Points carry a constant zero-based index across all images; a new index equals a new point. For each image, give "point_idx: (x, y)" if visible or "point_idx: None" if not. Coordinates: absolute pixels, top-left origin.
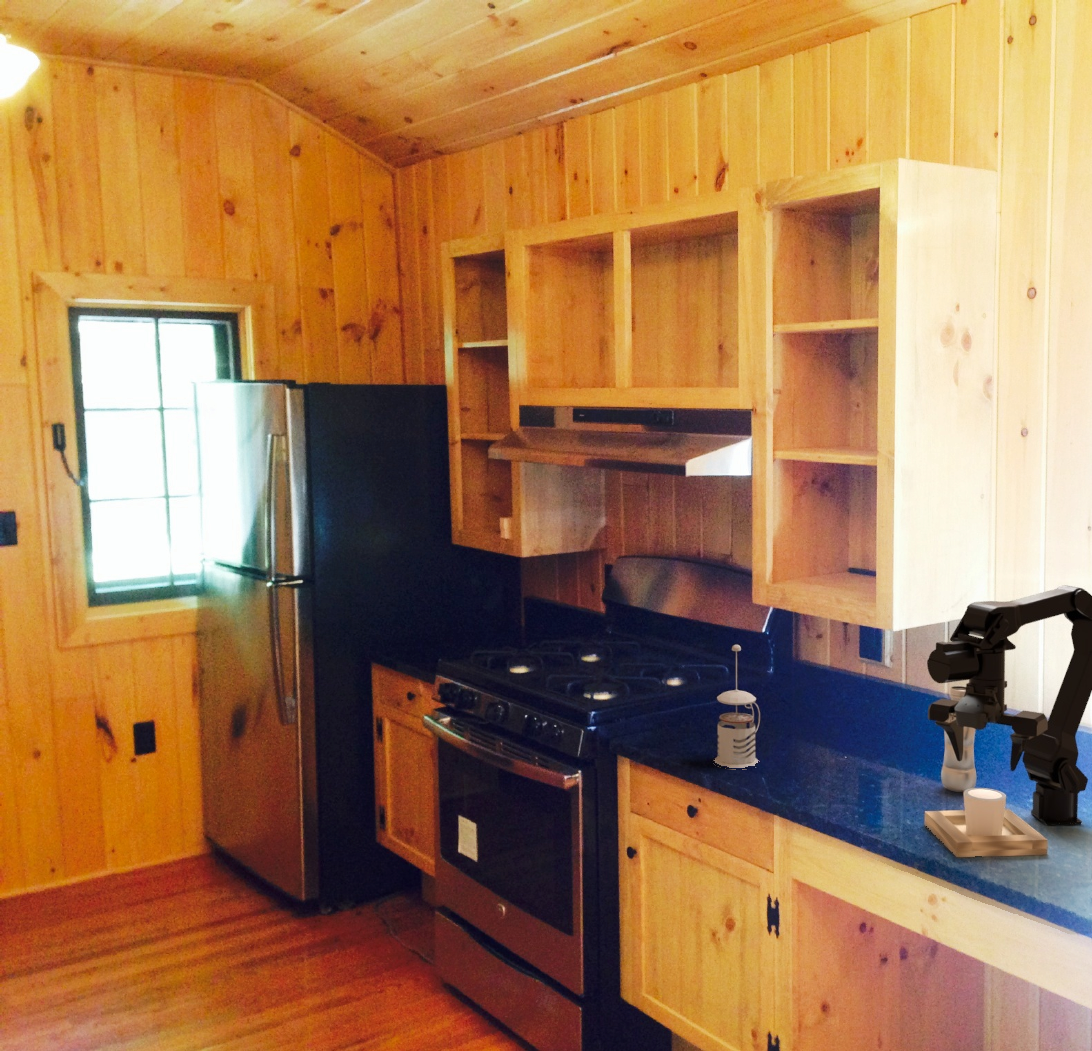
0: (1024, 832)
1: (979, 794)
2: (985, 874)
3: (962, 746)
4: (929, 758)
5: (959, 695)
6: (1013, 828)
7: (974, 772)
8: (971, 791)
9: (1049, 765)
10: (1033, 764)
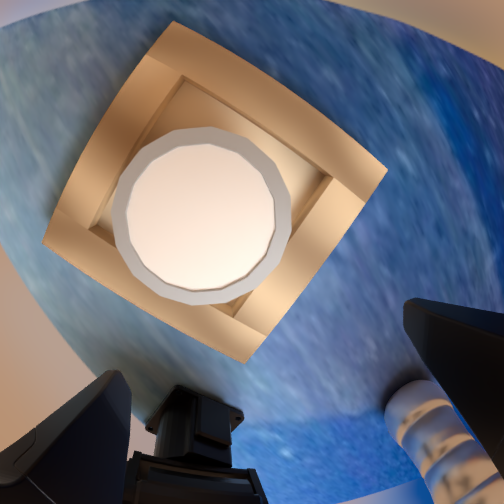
0: (100, 242)
1: (213, 199)
2: (81, 19)
3: (443, 376)
4: None
5: None
6: None
7: (395, 436)
8: (262, 207)
9: (143, 497)
10: (212, 495)
